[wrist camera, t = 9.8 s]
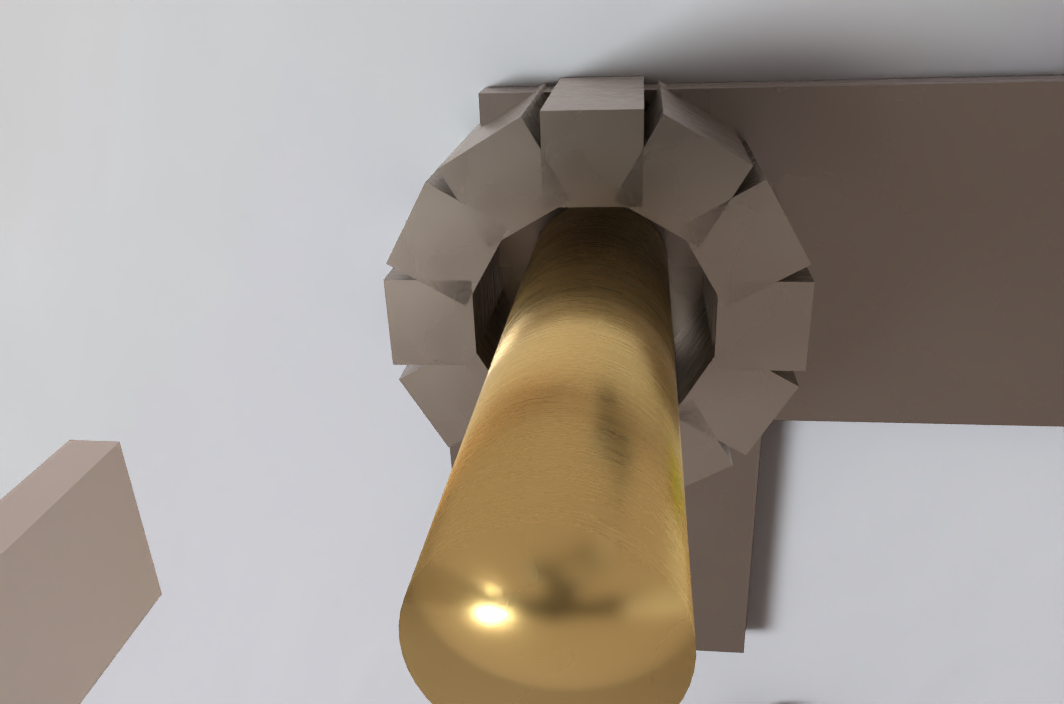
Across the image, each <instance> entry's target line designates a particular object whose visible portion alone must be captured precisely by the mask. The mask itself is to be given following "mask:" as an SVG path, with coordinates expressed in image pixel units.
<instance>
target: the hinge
mask: <svg viewBox="0 0 1064 704" xmlns="http://www.w3.org/2000/svg"><path fill="white" fill-rule="evenodd" d="M479 109H480V124H479V125H478V126H477V127H476V128H475V129H474V130H473V131H472V132H471V133H470V134H469V135H468V136H467V137H466V139H465V140H464V141H463V142H462V143H461V144H460V145H459V146H458V147H457V148H456V149H455V150H454V152H453V153H452V154H451V155H450V156H449V157H448V158H447V159H446V160H445V161H444V162H443V163H442V164H441V166H440V167H439V168H438V169H437V170H436V171H435V173H434V174H433V175H432V176H431V177H430V178H429V179H428V180H427V181H426V182H425V184H424V186H423V188H422V190H421V193H420V195H419V197H418V199H417V201H416V203H415V205H414V207H413V209H412V211H411V213H410V215H409V217H408V220H407V222H406V224H405V226H404V228H403V230H402V232H401V234H400V236H399V238H398V240H397V242H396V245H395V247H394V249H393V251H392V253H391V255H390V257H389V259H388V261H387V263H386V264H388V265H390V266H392V267H393V269H392V270H391V271H390V273H389V274H388V275H387V276H386V278H385V279H384V288H385V297H386V305H387V314H388V323H389V332H390V341H391V350H392V358H393V364H395V365H407V366H406V368H405V370H404V372H403V374H402V375H401V377H400V379H399V380H400V381H401V383H402V384H403V385H404V387H405V388H406V389H407V391H408V392H409V394H410V395H411V396H412V398H413V399H414V400H415V402H416V403H417V405H418V406H419V407H420V409H421V410H422V411H423V413H424V414H425V415H426V417H427V418H428V420H429V421H430V422H431V424H432V425H433V426H434V428H435V429H436V431H437V432H438V433H439V435H440V436H441V437H442V439H443V440H444V441H445V443H446V444H447V446H448V447H450V452H451V464H452V468H453V465H454V463H455V460H456V457H457V455H458V452H459V449H460V446H461V444H462V441H463V438H464V436H465V433H466V430H467V428H468V425H469V422H470V419H471V417H472V414H473V411H474V409H475V406H476V403H477V401H478V398H479V395H480V393H481V390H482V387H483V384H484V382H485V379H486V376H487V374H488V371H489V368H490V366H491V363H492V360H493V357H494V355H495V352H496V349H497V347H498V344H499V341H500V339H501V336H502V333H503V330H504V328H505V325H506V322H507V320H508V317H509V314H510V312H511V309H512V306H513V304H514V301H515V298H516V295H517V293H518V290H519V287H520V285H521V282H522V279H523V277H524V274H525V271H526V268H527V266H528V263H529V260H530V258H531V255H532V252H533V250H534V247H535V244H536V242H537V240H538V238H539V235H540V234H541V232H542V231H543V229H544V228H545V227H546V225H547V224H548V223H549V222H550V221H551V220H552V219H553V218H554V217H555V216H557V215H558V214H560V213H561V212H563V211H564V210H566V209H568V208H570V207H628V208H630V209H631V210H633V211H635V212H637V213H638V214H640V215H642V216H643V217H645V218H646V219H647V220H648V221H649V222H650V223H651V224H652V225H653V226H654V227H655V229H656V230H657V232H658V233H659V235H660V237H661V239H662V241H663V243H664V246H665V249H666V253H667V258H668V271H669V284H670V298H671V312H672V326H673V339H674V353H675V367H676V381H677V394H678V408H679V422H680V436H681V449H682V463H683V477H684V491H685V505H686V518H687V532H688V546H689V560H690V573H691V587H692V601H693V615H694V628H695V643H696V650H701V651H720V652H738V653H744V641H745V629H746V617H747V604H748V592H749V580H750V568H751V556H752V544H753V532H754V520H755V507H756V495H757V483H758V471H759V459H760V447H761V435H762V434H763V433H764V431H765V430H766V429H767V427H768V426H769V425H770V424H771V422H772V421H773V420H798V421H843V422H887V423H932V424H976V425H1020V426H1064V75H1040V76H994V77H949V78H903V79H858V80H813V81H767V82H722V83H676V84H665V83H664V82H662V81H660V80H659V81H658V83H657V84H644V76H621V77H578V78H560V79H559V81H558V82H557V84H556V86H547V85H546V83H544V84H542V85H541V86H539V87H495V88H484V89H483V90H482V91H481V92H480V93H479Z"/></svg>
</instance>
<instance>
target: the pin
mask: <svg viewBox="0 0 1064 704" xmlns="http://www.w3.org/2000/svg"><path fill="white" fill-rule="evenodd" d="M399 639H400V645H401V650H402V654H403V657H404V660H405V663H406V665H407V668H408V670H409V672H410V674H411V676H412V677H413V679H414V681H415V683H416V684H417V686H418V687H419V688H420V690H421V691H422V692H423V694H424V695H425V697H426V698H427V699H428V700H429V701H430V702H431V703H432V704H679V703H680V702H681V700H682V699H683V697H684V695H685V693H686V691H687V689H688V687H689V686H690V682H691V679H692V676H693V673H694V668H695V660H696V643H695V628H694V615H693V601H692V587H691V573H690V560H689V546H688V532H687V518H686V505H685V491H684V477H683V463H682V449H681V436H680V422H679V408H678V394H677V381H676V367H675V353H674V339H673V326H672V312H671V298H670V284H669V271H668V258H667V253H666V249H665V246H664V243H663V241H662V239H661V237H660V235H659V233H658V232H657V230H656V229H655V227H654V226H653V225H652V224H651V223H650V222H649V221H648V220H647V219H646V218H645V217H643V216H642V215H640V214H638V213H637V212H635V211H633V210H631V209H630V208H628V207H570V208H568V209H566V210H564V211H563V212H561V213H560V214H558V215H557V216H555V217H554V218H553V219H552V220H551V221H550V222H549V223H548V224H547V225H546V227H545V228H544V229H543V231H542V232H541V234H540V235H539V238H538V240H537V242H536V244H535V247H534V250H533V252H532V255H531V258H530V260H529V263H528V266H527V268H526V271H525V274H524V277H523V279H522V282H521V285H520V287H519V290H518V293H517V295H516V298H515V301H514V304H513V306H512V309H511V312H510V314H509V317H508V320H507V322H506V325H505V328H504V330H503V333H502V336H501V339H500V341H499V344H498V347H497V349H496V352H495V355H494V357H493V360H492V363H491V366H490V368H489V371H488V374H487V376H486V379H485V382H484V384H483V387H482V390H481V393H480V395H479V398H478V401H477V403H476V406H475V409H474V411H473V414H472V417H471V419H470V422H469V425H468V428H467V430H466V433H465V436H464V438H463V441H462V444H461V446H460V449H459V452H458V455H457V457H456V460H455V463H454V465H453V468H452V471H451V473H450V476H449V479H448V482H447V484H446V487H445V490H444V492H443V495H442V498H441V500H440V503H439V506H438V508H437V511H436V514H435V517H434V519H433V522H432V525H431V527H430V530H429V533H428V535H427V538H426V541H425V544H424V546H423V549H422V552H421V554H420V557H419V560H418V562H417V565H416V568H415V571H414V573H413V576H412V579H411V581H410V584H409V587H408V589H407V592H406V595H405V598H404V601H403V604H402V608H401V611H400V620H399Z"/></svg>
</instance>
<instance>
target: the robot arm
mask: <svg viewBox="0 0 1064 704" xmlns="http://www.w3.org/2000/svg"><path fill="white" fill-rule="evenodd" d="M161 594H162V593H161V589H160V586H159V582H158V579H157V575H156V572H155V568H154V564H153V561H152V557H151V554H150V550H149V546H148V543H147V539H146V536H145V532H144V528H143V525H142V521H141V518H140V514H139V510H138V507H137V503H136V500H135V496H134V492H133V489H132V485H131V482H130V478H129V475H128V471H127V467H126V464H125V460H124V457H123V453H122V449H121V446H120V442H113V441H85V440H69V441H68V442H67V443H66V444H64V445H63V446H62V447H61V448H60V449H59V450H58V451H56V452H55V453H54V454H53V455H52V456H51V457H49V458H48V459H47V460H46V461H45V462H44V463H43V464H41V465H40V466H39V467H38V468H37V469H36V470H35V471H33V472H32V473H31V474H30V475H29V476H28V477H26V478H25V479H24V480H23V481H22V482H21V483H20V484H18V485H17V486H16V487H15V488H14V489H13V490H11V491H10V492H9V493H8V494H7V495H6V496H5V497H3V498H2V499H1V500H0V704H80V703H81V702H82V700H83V699H84V698H85V696H86V695H87V694H88V692H89V691H90V690H91V688H92V687H93V686H94V684H95V683H96V682H97V680H98V679H99V678H100V676H101V675H102V674H103V672H104V671H105V670H106V668H107V667H108V666H109V664H110V663H111V662H112V660H113V659H114V658H115V656H116V655H117V653H118V652H119V651H120V649H121V648H122V647H123V645H124V644H125V643H126V641H127V640H128V639H129V637H130V636H131V635H132V633H133V632H134V631H135V629H136V628H137V627H138V625H139V624H140V623H141V621H142V620H143V619H144V617H145V616H146V615H147V613H148V612H149V610H150V609H151V608H152V606H153V605H154V604H155V602H156V601H157V600H158V598H159V597H160V596H161Z"/></svg>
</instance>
